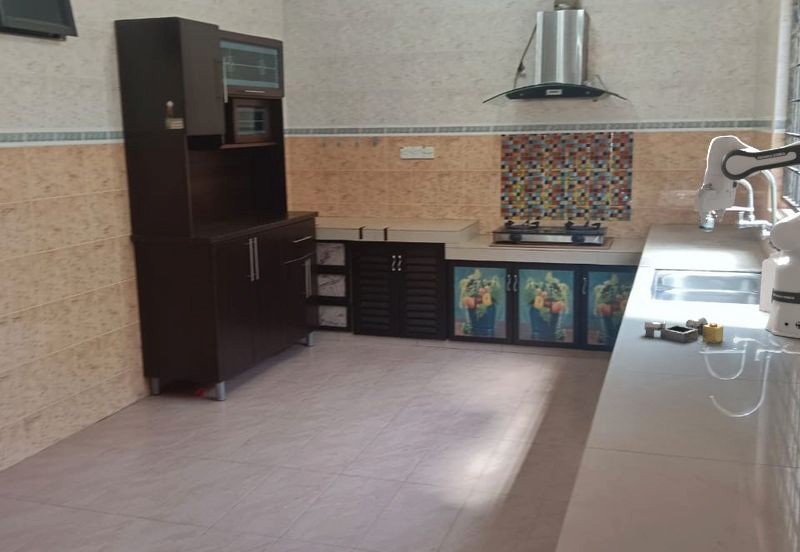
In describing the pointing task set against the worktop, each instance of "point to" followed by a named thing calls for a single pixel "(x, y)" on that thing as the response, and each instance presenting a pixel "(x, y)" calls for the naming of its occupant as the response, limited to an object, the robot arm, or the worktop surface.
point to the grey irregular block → (697, 324)
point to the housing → (679, 333)
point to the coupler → (712, 333)
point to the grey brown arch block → (653, 328)
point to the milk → (768, 281)
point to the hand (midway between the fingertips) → (710, 222)
